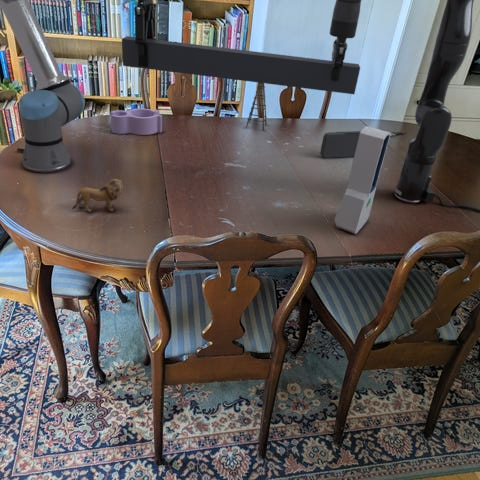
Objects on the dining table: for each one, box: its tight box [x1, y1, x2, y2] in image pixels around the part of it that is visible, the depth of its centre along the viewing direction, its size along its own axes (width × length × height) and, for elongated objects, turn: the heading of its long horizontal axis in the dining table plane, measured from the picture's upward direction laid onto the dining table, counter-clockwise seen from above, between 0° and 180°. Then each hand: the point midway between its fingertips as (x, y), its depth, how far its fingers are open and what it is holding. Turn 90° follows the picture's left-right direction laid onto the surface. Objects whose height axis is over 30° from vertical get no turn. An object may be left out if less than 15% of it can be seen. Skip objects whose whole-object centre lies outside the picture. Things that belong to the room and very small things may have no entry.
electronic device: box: [334, 125, 392, 235], centre depth 136 cm, size 12×8×30 cm, turn 148°
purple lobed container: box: [109, 107, 163, 136], centre depth 192 cm, size 20×12×7 cm, turn 109°
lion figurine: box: [71, 178, 124, 213], centre depth 135 cm, size 15×5×9 cm, turn 110°
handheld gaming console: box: [319, 130, 362, 159], centre depth 188 cm, size 23×3×10 cm, turn 108°
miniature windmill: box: [245, 83, 268, 131], centre depth 203 cm, size 9×8×30 cm
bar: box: [121, 35, 361, 95], centre depth 145 cm, size 73×5×8 cm, turn 83°
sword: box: [390, 131, 407, 137], centre depth 214 cm, size 31×3×1 cm, turn 126°
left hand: (146, 64), depth 149 cm, fingers closed on bar, 5 cm apart
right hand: (333, 78), depth 144 cm, fingers closed on bar, 5 cm apart
